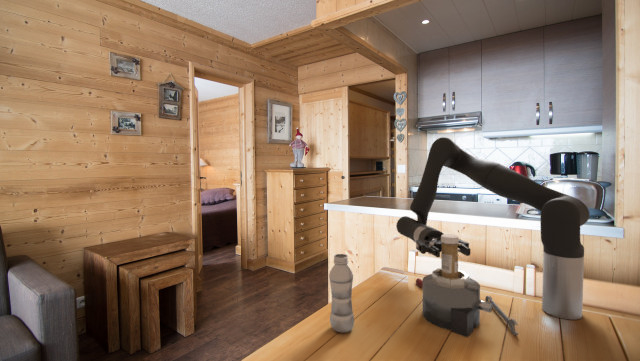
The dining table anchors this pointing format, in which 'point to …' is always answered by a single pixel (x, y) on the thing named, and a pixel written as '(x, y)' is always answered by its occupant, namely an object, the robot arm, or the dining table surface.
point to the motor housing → (453, 302)
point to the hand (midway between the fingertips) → (453, 253)
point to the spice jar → (449, 255)
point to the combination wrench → (503, 315)
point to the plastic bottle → (341, 295)
